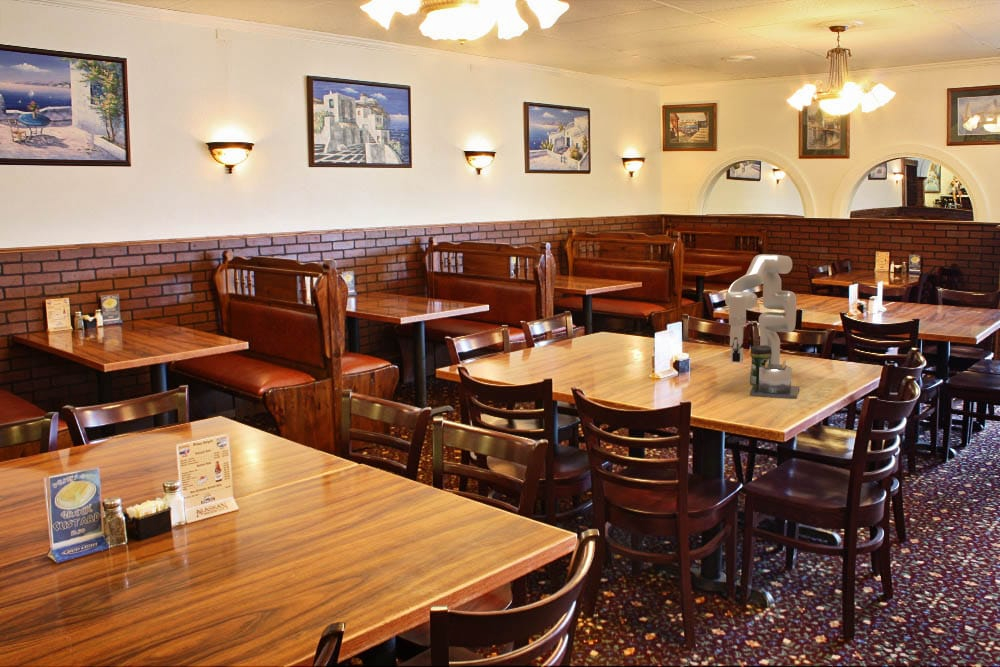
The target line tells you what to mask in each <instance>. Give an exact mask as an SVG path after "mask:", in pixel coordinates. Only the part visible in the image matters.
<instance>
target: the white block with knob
mask: <svg viewBox="0 0 1000 667" xmlns="http://www.w3.org/2000/svg"><path fill="white" fill-rule="evenodd" d="M737 346H738V345H737ZM739 353H740V362H733V361H732V359H733V346H731V349H730V363H741V364H742V363H743V362H744V347H741V348H740V347H739Z"/></svg>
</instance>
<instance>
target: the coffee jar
mask: <svg viewBox="0 0 1000 667" xmlns="http://www.w3.org/2000/svg"><path fill="white" fill-rule="evenodd" d="M749 356H750V357H751V369H750V376H749V383H750V384H751V385H753V386H754V384H759V367H760V366H764V365H765V363H766V361H767V360H769V364H770V359H771V356H772V351H771V347H770V346H766V345H763V346H760V345H755V346H753V345H752V346H751V347H750V355H749Z"/></svg>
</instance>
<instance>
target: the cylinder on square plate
mask: <svg viewBox="0 0 1000 667" xmlns="http://www.w3.org/2000/svg"><path fill="white" fill-rule="evenodd" d="M786 361H787V360H783V362H782V364H769V360H767V361H766V363H765V365H764V366H760V367H759V384H754V385H753V386H752V388H751V389H750V391H749V397H762V398H774V399H775V398H777V399H794V400H797V399H798V394H799V391H800V386H799V385H792V370H793V369H792V367H791V366H788V365H787V364H786Z"/></svg>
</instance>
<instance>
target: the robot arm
mask: <svg viewBox="0 0 1000 667" xmlns="http://www.w3.org/2000/svg"><path fill="white" fill-rule="evenodd" d="M792 269H793V260H792V258H791V257H790V256H789V255H781V254H765V253H764V254H763V253H762V254H758V255H755V256H754V257H753V259H752V260H751V262H750V265H749V267H748V269H747V271H746V274H744V275H743V276H741V277H739V278H738V279H736V280H734V281H733V282H732V283H731V285H729V288H728V290H727V291H726V294H725V298H724V299H725V300H724V302H725V305H726V306H727V307H728V325H730V332H729V347H733V359H732V361H733V362H732V363H735V362H740V353H739V347H740V348H742V345H743V343H744V326H746V325H747V309H748V310H749V309H753V308H754V307H756V306H757V304H758V296H757V294H756V293H754V292H750V291H748V290H751V289H755V288H758V287H759V286H762V284H763V287H762V289H763V290H762V305H763V307H764V308H765V309H768V310H777V311H776V312H775V311H765V312H762V313H760V315H759V316H758V328H759V338H760V339H759V342H760V343H759V346H763V345H766V346H770V347H771V351H772V356H771V359H770V364H780V362H781V361H780V357H781V356H780V355H781V339H780V337H779V335H778V333H792V332H794V330H795V328H796V322H797V297H796V294H795V292H793V291H792V290H791V291H790V290H782V278H781V277H780V275H779V274H785V275H786V274H788V273H790V272H791V270H792ZM778 310H779V311H784V312H778ZM737 345H738V346H737ZM780 365H781V364H780Z"/></svg>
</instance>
